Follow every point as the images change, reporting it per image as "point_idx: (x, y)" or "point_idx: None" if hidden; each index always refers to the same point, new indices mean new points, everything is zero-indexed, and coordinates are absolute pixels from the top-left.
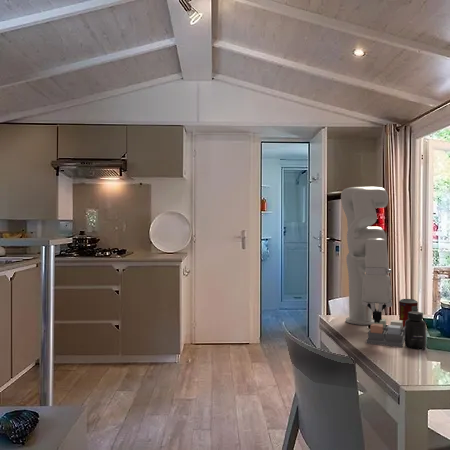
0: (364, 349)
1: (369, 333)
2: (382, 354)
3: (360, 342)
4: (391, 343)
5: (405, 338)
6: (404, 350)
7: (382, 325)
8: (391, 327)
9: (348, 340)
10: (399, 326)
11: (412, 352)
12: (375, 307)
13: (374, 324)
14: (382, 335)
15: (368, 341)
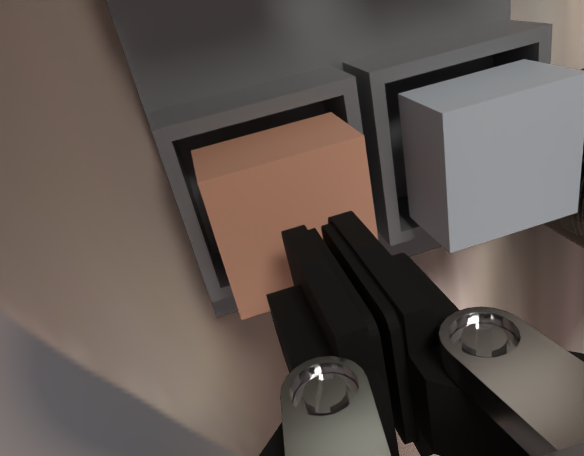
0: (270, 434)
1: (226, 291)
2: (400, 441)
3: (153, 306)
4: (421, 246)
5: (562, 227)
6: (508, 285)
7: (370, 205)
8: (489, 237)
9: (21, 320)
10: (575, 119)
11: (555, 293)
12: (378, 419)
13: (255, 216)
14: None
15: (232, 305)
